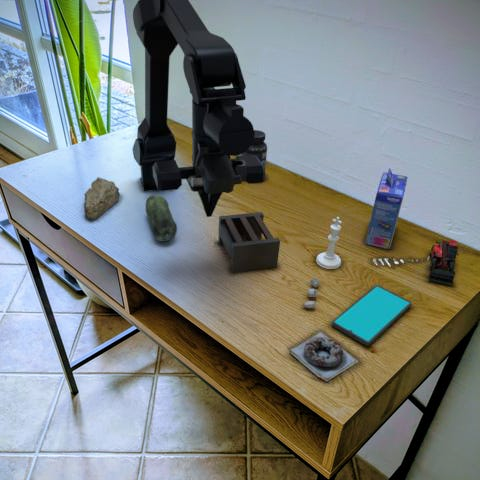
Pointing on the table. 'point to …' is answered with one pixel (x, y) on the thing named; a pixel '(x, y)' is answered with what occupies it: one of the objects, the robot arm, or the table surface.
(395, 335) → the table surface
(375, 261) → the miniature set
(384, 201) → the ink cartridge box
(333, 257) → the chess piece
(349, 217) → the table surface
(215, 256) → the table surface
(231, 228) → the rack
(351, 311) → the smartphone
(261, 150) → the pill bottle
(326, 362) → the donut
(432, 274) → the loader
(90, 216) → the stone
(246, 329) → the table surface
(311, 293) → the game pieces
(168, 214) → the vegetable
